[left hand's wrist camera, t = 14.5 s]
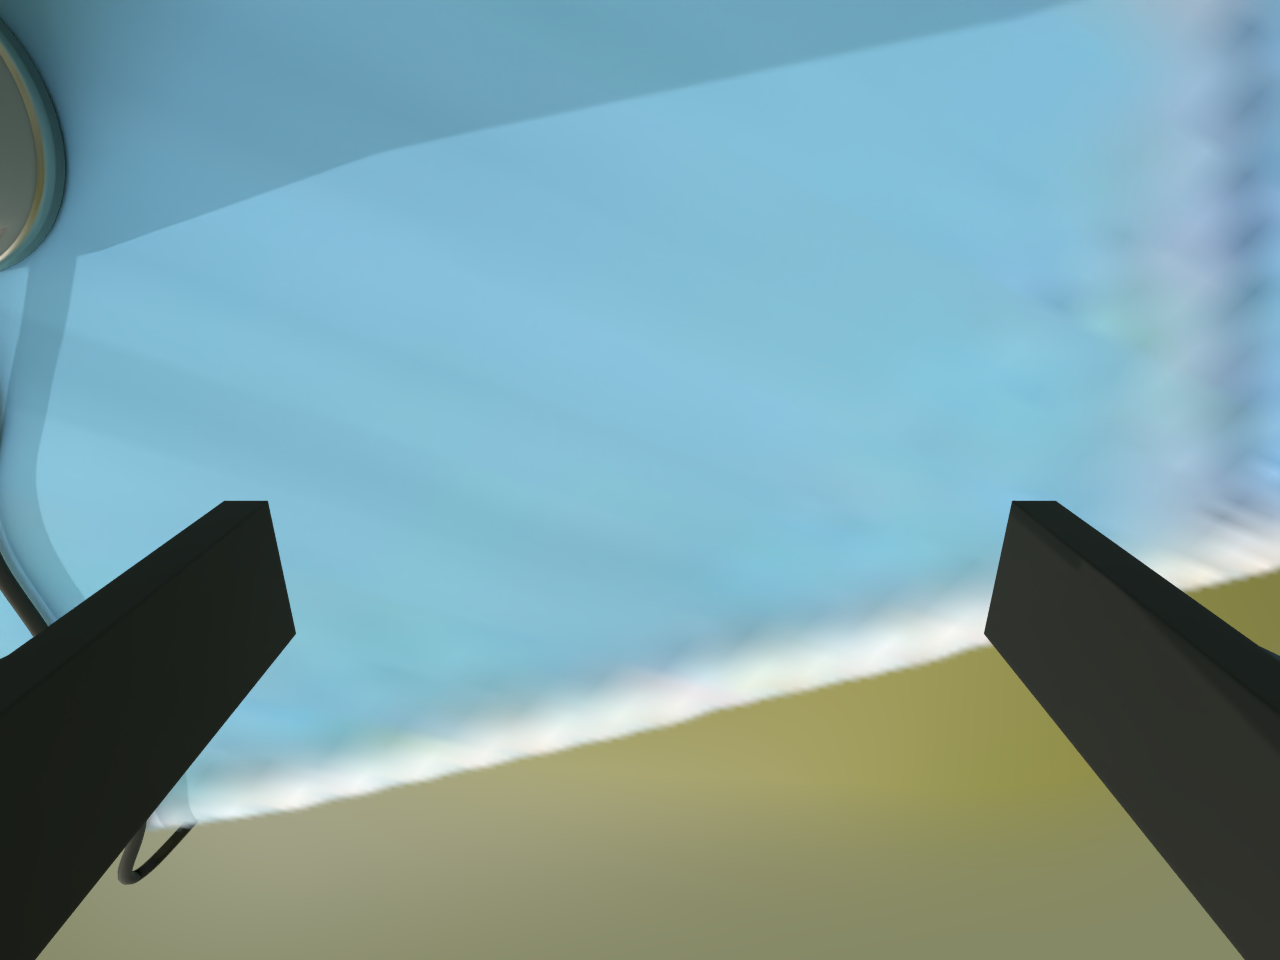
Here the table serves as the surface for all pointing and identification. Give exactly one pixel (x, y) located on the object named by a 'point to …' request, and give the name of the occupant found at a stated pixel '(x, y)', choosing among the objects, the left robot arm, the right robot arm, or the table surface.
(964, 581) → the table surface
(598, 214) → the table surface
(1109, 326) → the table surface
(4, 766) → the left robot arm
